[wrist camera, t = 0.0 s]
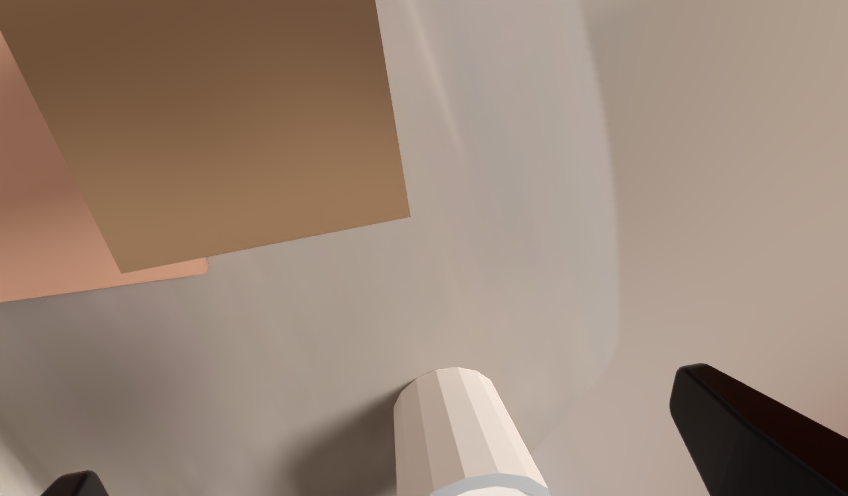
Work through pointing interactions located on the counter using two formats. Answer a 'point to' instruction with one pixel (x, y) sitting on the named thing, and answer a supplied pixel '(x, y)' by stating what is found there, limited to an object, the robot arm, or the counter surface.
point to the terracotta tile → (50, 209)
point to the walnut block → (214, 118)
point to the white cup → (459, 440)
